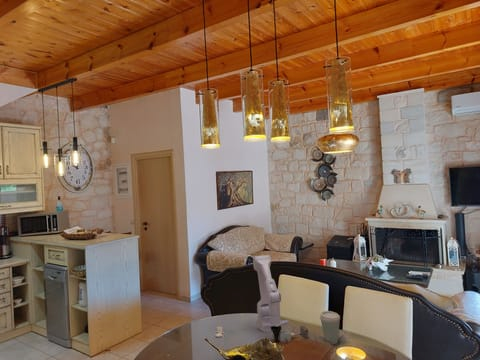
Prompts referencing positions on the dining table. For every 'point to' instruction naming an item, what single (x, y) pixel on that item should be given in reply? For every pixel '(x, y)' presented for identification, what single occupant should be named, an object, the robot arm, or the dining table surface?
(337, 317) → the disposable coffee cup
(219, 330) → the teacup and saucer
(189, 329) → the dining table surface
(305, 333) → the scale board
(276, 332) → the robot arm
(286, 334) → the gauge carriage
